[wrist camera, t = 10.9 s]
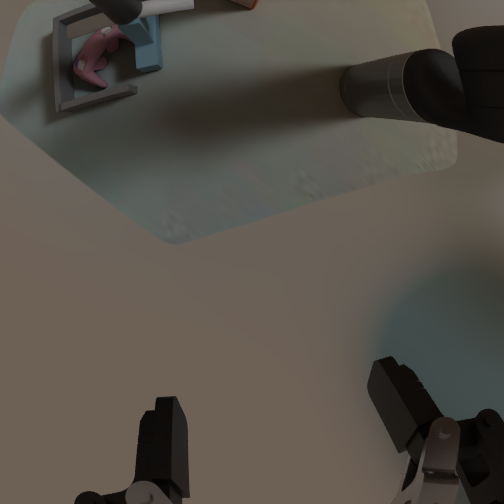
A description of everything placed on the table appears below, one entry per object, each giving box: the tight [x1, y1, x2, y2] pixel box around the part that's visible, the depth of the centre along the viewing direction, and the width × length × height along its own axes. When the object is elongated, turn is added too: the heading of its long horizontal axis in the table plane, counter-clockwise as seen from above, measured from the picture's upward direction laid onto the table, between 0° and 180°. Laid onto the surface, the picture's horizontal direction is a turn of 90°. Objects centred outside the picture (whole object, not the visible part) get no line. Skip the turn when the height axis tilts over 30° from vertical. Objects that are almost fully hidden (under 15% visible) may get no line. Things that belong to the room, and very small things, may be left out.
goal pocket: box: [53, 3, 137, 112], centre depth 31 cm, size 12×16×5 cm
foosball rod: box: [66, 0, 194, 73], centre depth 21 cm, size 14×10×28 cm
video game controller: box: [73, 24, 132, 88], centre depth 31 cm, size 10×5×7 cm, turn 142°
